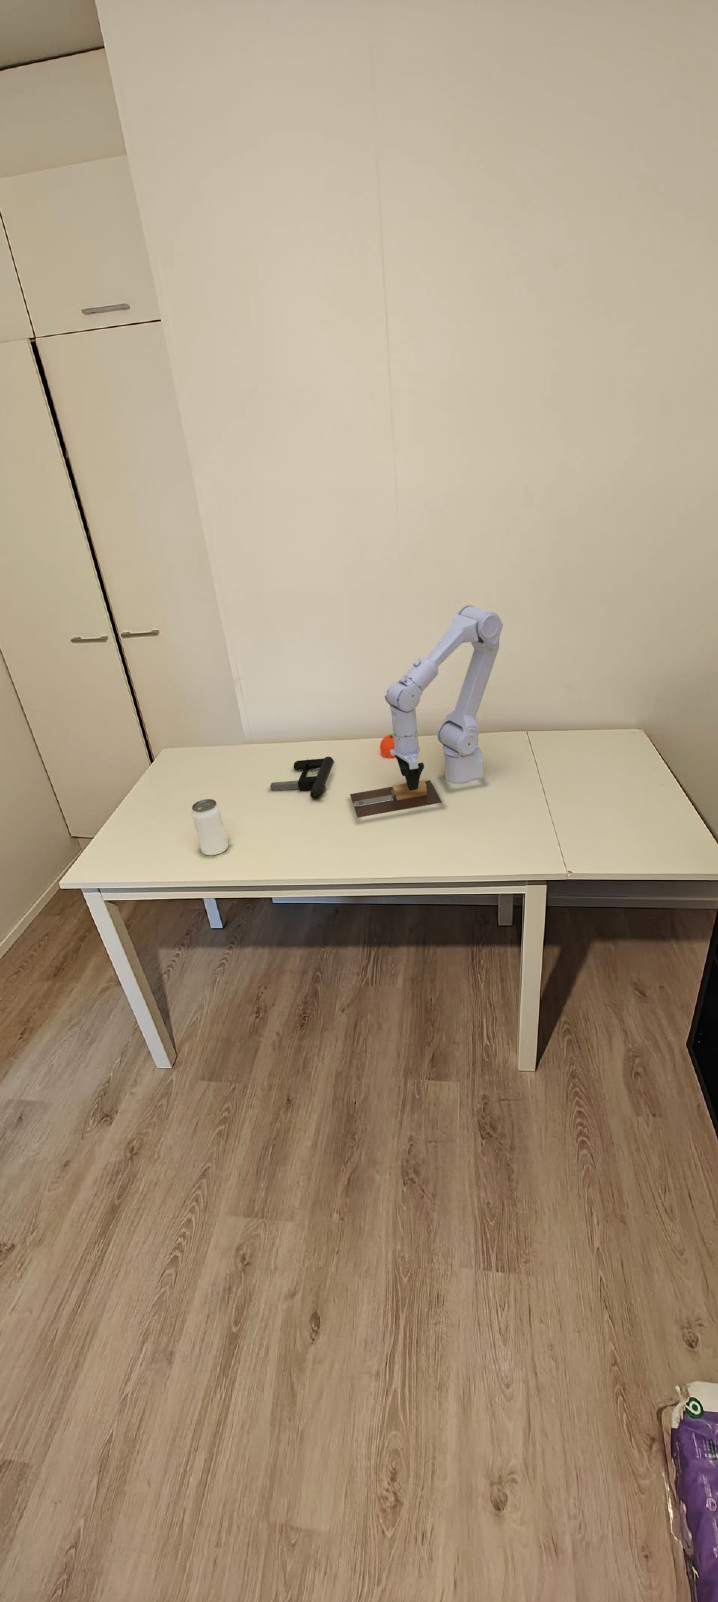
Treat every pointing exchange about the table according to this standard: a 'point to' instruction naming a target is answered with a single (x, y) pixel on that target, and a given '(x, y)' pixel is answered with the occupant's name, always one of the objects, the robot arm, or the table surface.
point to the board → (393, 805)
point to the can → (209, 827)
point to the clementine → (387, 746)
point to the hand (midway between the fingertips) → (409, 782)
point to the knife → (395, 795)
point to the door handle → (308, 783)
